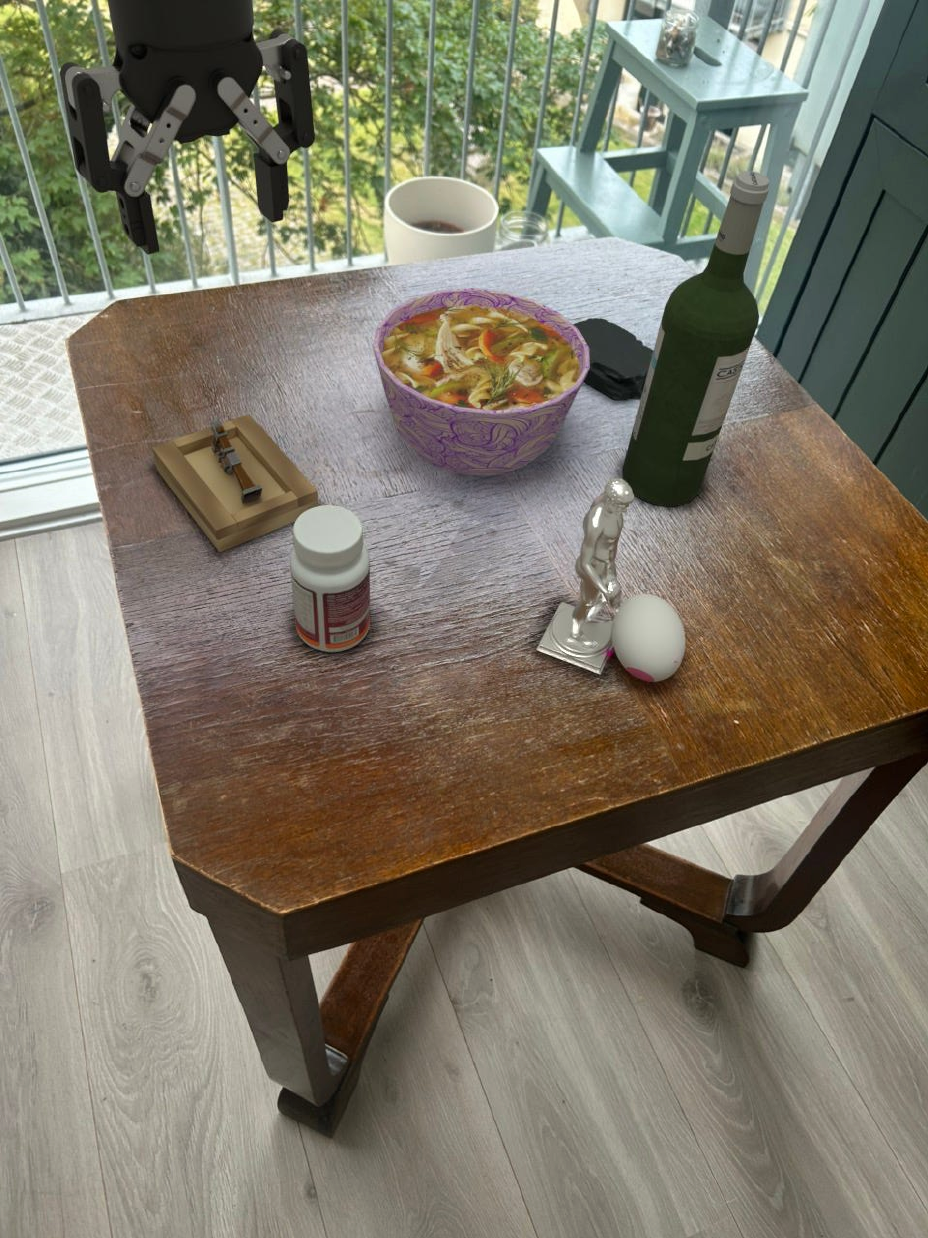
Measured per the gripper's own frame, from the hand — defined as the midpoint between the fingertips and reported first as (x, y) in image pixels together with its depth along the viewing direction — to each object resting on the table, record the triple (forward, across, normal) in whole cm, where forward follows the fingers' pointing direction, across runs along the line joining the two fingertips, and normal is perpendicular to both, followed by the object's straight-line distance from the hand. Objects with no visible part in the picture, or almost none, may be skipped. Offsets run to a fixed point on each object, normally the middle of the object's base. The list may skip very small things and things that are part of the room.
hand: (210, 231), depth 61 cm
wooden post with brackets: (+29, -3, -9) cm, 30 cm away
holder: (+30, -3, -9) cm, 31 cm away
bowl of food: (+30, -26, -3) cm, 40 cm away
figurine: (+30, -18, +23) cm, 42 cm away
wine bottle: (+30, -39, +11) cm, 51 cm away
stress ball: (+30, -22, +27) cm, 46 cm away
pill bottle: (+30, -2, +10) cm, 32 cm away
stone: (+30, -47, -6) cm, 56 cm away
